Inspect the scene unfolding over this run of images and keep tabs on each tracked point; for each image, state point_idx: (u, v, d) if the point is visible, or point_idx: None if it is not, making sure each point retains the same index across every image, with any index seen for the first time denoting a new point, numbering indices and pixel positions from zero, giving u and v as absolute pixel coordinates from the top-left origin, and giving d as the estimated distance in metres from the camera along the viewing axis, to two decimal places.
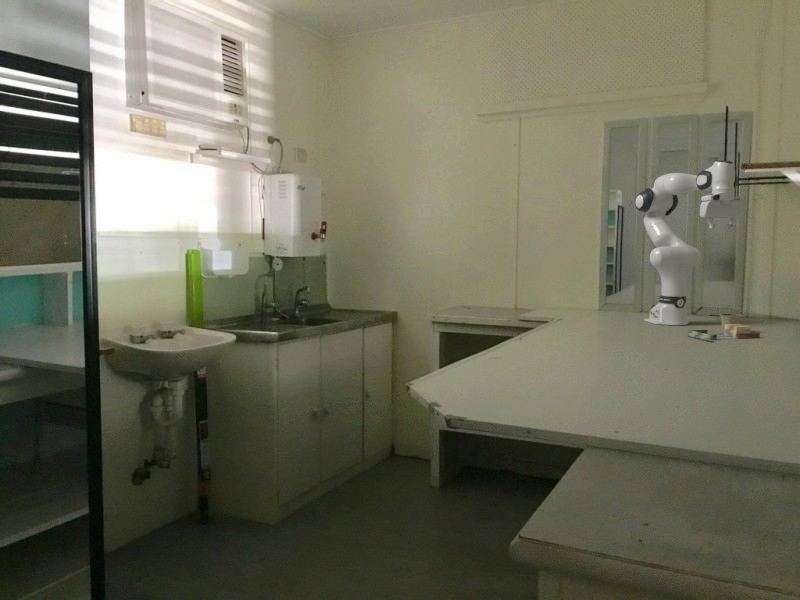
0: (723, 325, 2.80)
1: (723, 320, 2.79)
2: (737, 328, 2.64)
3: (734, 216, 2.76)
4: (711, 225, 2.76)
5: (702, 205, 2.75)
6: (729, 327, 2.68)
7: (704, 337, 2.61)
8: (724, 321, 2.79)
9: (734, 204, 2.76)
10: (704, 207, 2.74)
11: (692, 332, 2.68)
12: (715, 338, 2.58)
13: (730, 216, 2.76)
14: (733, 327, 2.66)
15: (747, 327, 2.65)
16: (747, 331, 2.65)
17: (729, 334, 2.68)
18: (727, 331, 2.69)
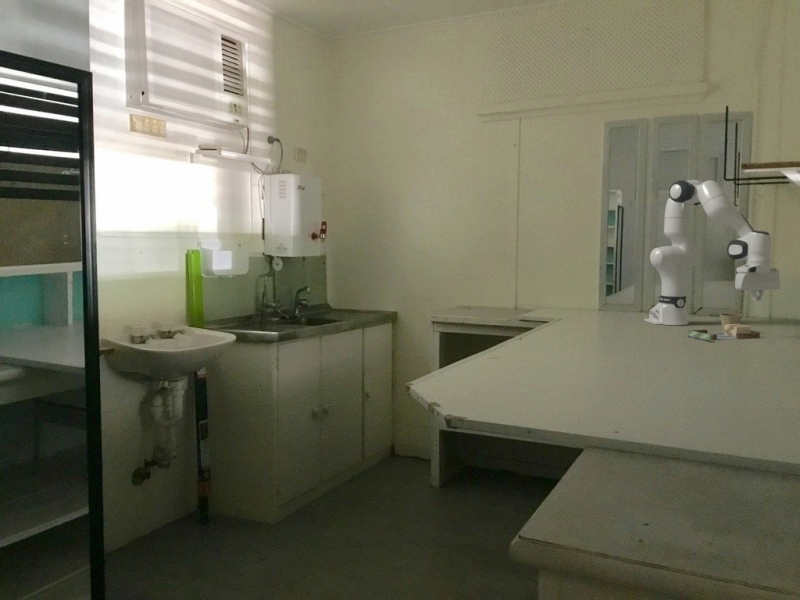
0: (723, 325, 2.80)
1: (723, 320, 2.79)
2: (737, 328, 2.64)
3: (770, 288, 2.68)
4: (755, 297, 2.68)
5: (738, 277, 2.66)
6: (729, 327, 2.68)
7: (704, 337, 2.61)
8: (724, 321, 2.79)
9: (771, 276, 2.67)
10: (740, 279, 2.65)
11: (692, 332, 2.68)
12: (715, 338, 2.58)
13: (766, 288, 2.67)
14: (733, 327, 2.66)
15: (747, 327, 2.65)
16: (747, 331, 2.65)
17: (729, 334, 2.68)
18: (727, 331, 2.69)
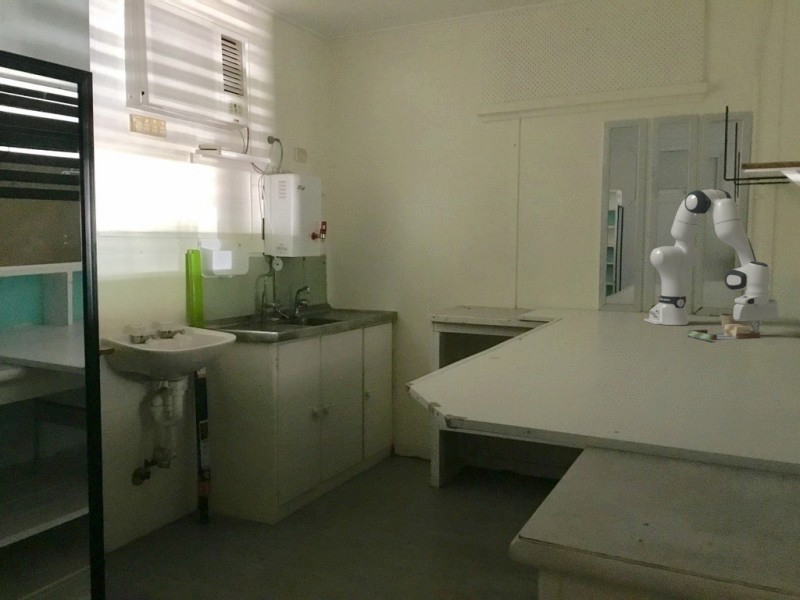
0: (723, 325, 2.80)
1: (723, 320, 2.79)
2: (737, 328, 2.64)
3: (768, 319, 2.69)
4: (753, 328, 2.69)
5: (736, 308, 2.68)
6: (729, 327, 2.68)
7: (704, 337, 2.61)
8: (724, 321, 2.79)
9: (769, 307, 2.68)
10: (738, 310, 2.66)
11: (692, 332, 2.68)
12: (715, 338, 2.58)
13: (764, 319, 2.69)
14: (733, 327, 2.66)
15: (747, 327, 2.65)
16: (747, 331, 2.65)
17: (729, 334, 2.68)
18: (727, 331, 2.69)
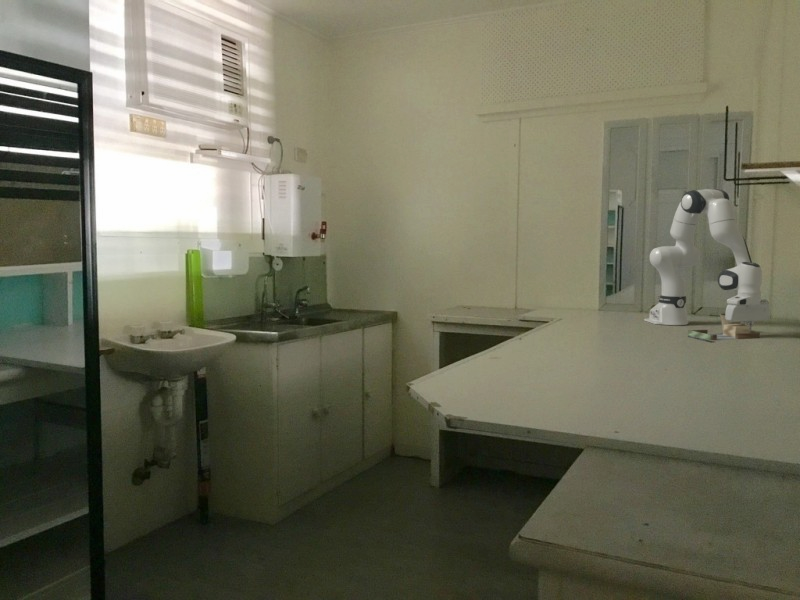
0: (723, 325, 2.80)
1: (723, 320, 2.79)
2: (736, 328, 2.64)
3: (760, 319, 2.68)
4: None
5: (728, 308, 2.67)
6: (728, 327, 2.68)
7: (704, 337, 2.61)
8: (724, 321, 2.79)
9: (761, 308, 2.68)
10: (730, 311, 2.65)
11: (692, 332, 2.68)
12: (715, 338, 2.58)
13: (756, 319, 2.68)
14: (732, 327, 2.65)
15: (746, 327, 2.65)
16: (746, 331, 2.65)
17: (728, 334, 2.68)
18: (726, 331, 2.69)
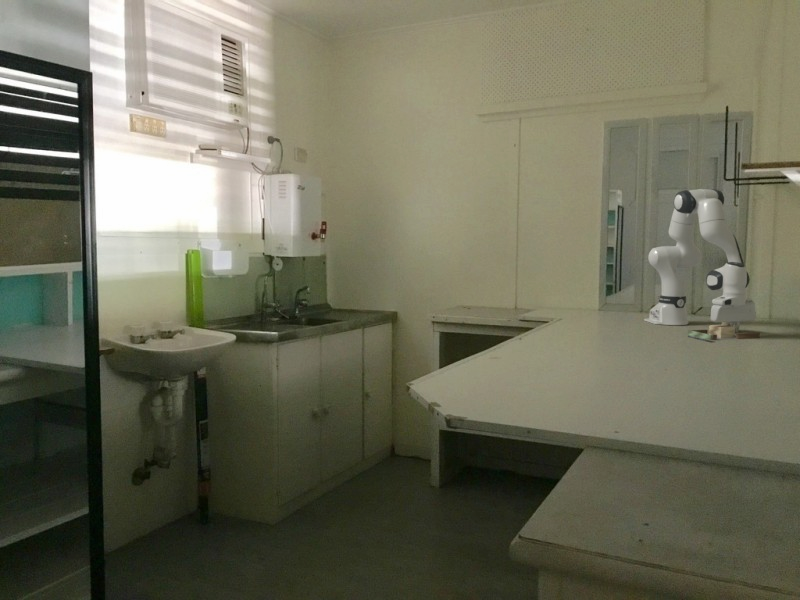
0: None
1: None
2: (721, 329, 2.62)
3: (746, 320, 2.67)
4: None
5: (713, 309, 2.65)
6: (713, 328, 2.66)
7: (704, 337, 2.61)
8: None
9: (746, 308, 2.66)
10: (715, 311, 2.64)
11: (692, 332, 2.68)
12: (715, 338, 2.58)
13: (742, 320, 2.66)
14: (717, 328, 2.64)
15: (731, 328, 2.63)
16: (731, 332, 2.63)
17: None
18: (712, 332, 2.67)
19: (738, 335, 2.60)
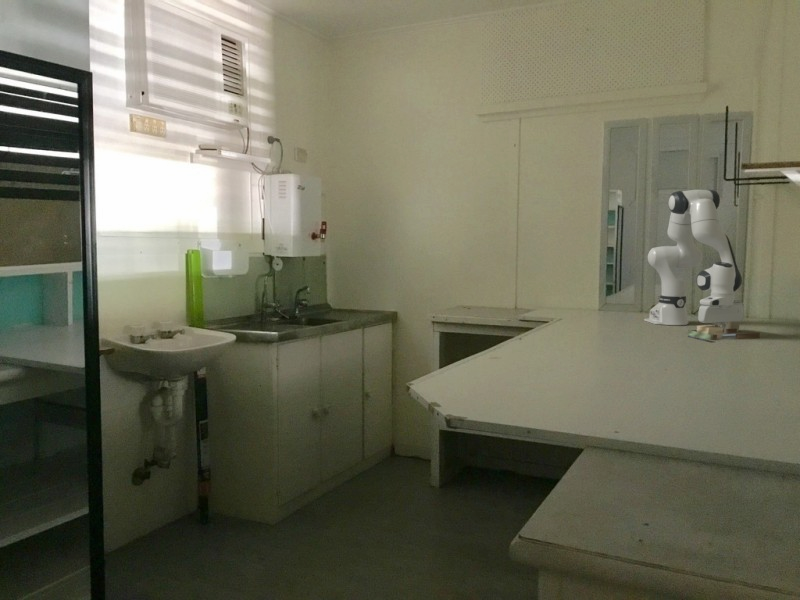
0: None
1: None
2: (709, 329, 2.61)
3: (734, 320, 2.65)
4: None
5: (701, 309, 2.64)
6: (701, 328, 2.65)
7: (704, 337, 2.61)
8: None
9: (734, 308, 2.65)
10: (702, 312, 2.62)
11: (692, 332, 2.68)
12: (715, 338, 2.58)
13: (730, 320, 2.65)
14: (705, 328, 2.62)
15: (719, 328, 2.62)
16: (719, 332, 2.62)
17: None
18: None
19: (738, 335, 2.60)
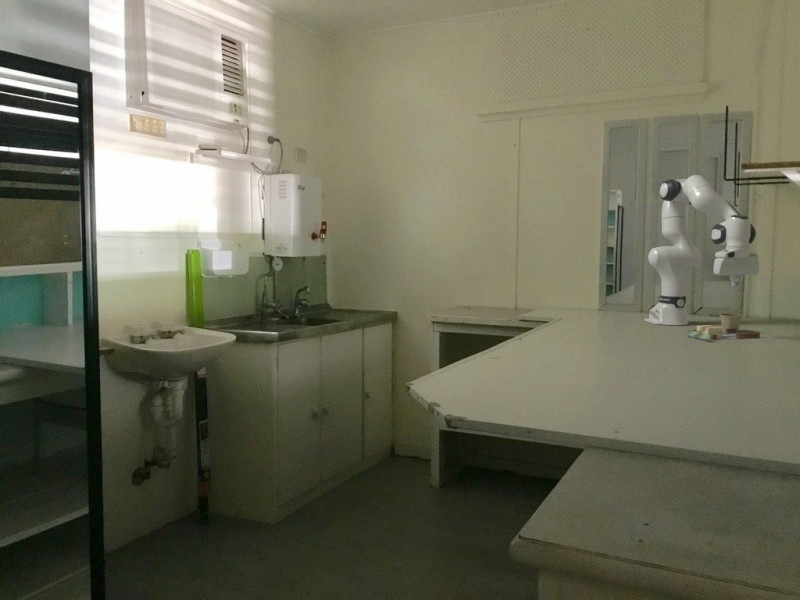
0: (723, 325, 2.80)
1: (723, 320, 2.79)
2: (709, 329, 2.61)
3: (749, 273, 2.65)
4: (733, 282, 2.65)
5: (716, 262, 2.63)
6: (701, 328, 2.65)
7: (704, 337, 2.61)
8: (724, 321, 2.79)
9: (749, 261, 2.64)
10: (718, 264, 2.62)
11: (692, 332, 2.68)
12: (715, 338, 2.58)
13: (745, 273, 2.64)
14: (705, 328, 2.62)
15: (719, 328, 2.62)
16: (719, 332, 2.62)
17: None
18: None
19: (738, 335, 2.60)
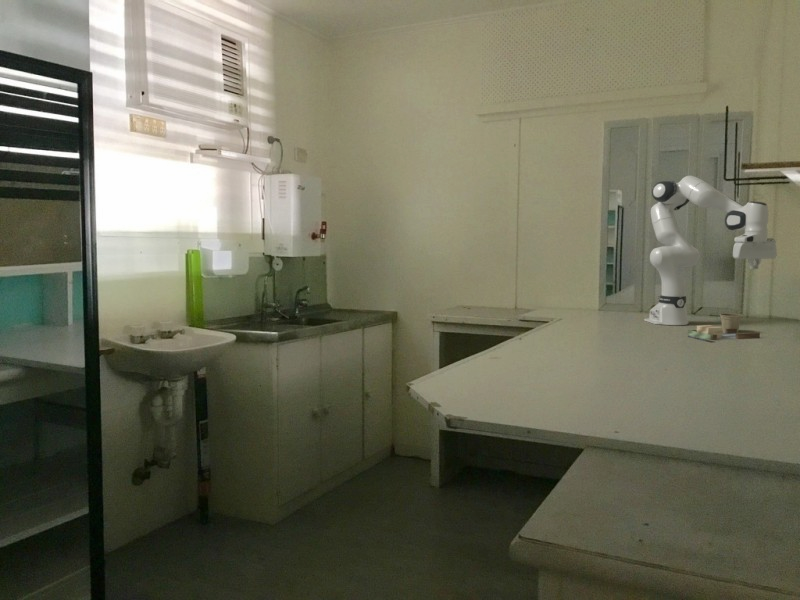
0: (723, 325, 2.80)
1: (723, 320, 2.79)
2: (709, 329, 2.61)
3: (767, 257, 2.76)
4: (752, 266, 2.77)
5: (735, 246, 2.75)
6: (701, 328, 2.65)
7: (704, 337, 2.61)
8: (724, 321, 2.79)
9: (767, 246, 2.76)
10: (737, 248, 2.74)
11: (692, 332, 2.68)
12: (715, 338, 2.58)
13: (763, 257, 2.76)
14: (705, 328, 2.62)
15: (719, 328, 2.62)
16: (719, 332, 2.62)
17: None
18: None
19: (738, 335, 2.60)
